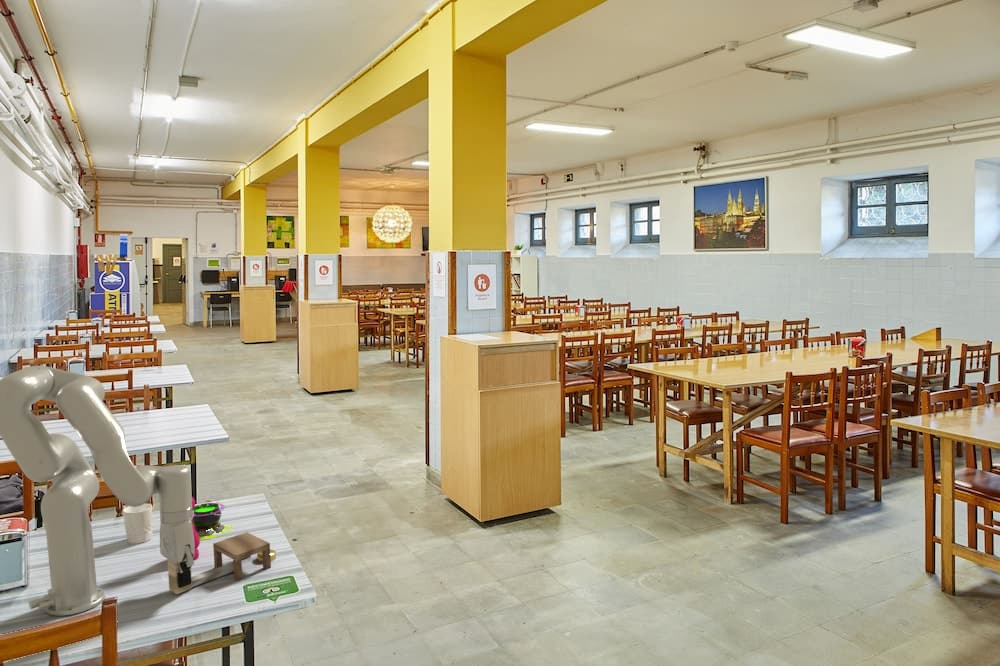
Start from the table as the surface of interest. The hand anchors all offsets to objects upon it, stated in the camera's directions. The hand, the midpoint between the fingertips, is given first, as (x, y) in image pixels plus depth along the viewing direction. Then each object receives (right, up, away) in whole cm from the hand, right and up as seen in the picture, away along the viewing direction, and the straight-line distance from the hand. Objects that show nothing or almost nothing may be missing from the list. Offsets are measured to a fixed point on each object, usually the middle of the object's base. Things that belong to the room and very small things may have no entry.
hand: (180, 582), depth 179 cm
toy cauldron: (-10, +2, +39) cm, 40 cm away
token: (+16, 0, +19) cm, 25 cm away
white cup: (-27, +1, +33) cm, 43 cm away
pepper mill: (-7, 0, +19) cm, 21 cm away
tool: (+4, -1, +5) cm, 7 cm away
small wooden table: (+11, -1, +13) cm, 17 cm away
